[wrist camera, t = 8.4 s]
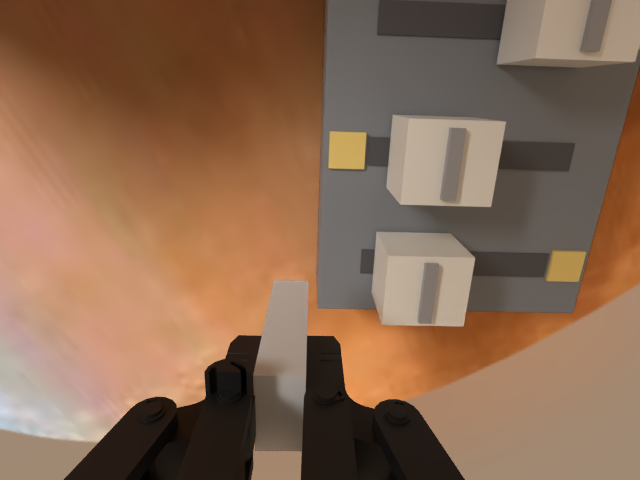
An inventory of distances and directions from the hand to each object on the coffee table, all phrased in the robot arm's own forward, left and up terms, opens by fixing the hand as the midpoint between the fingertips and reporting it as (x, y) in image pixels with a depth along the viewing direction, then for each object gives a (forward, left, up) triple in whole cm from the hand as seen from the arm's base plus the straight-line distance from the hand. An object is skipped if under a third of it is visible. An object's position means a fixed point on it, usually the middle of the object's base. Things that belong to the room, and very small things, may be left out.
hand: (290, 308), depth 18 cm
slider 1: (+7, +6, -5) cm, 10 cm away
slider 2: (+6, 0, -5) cm, 8 cm away
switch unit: (+9, +6, -10) cm, 15 cm away
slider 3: (+11, +12, -5) cm, 17 cm away
